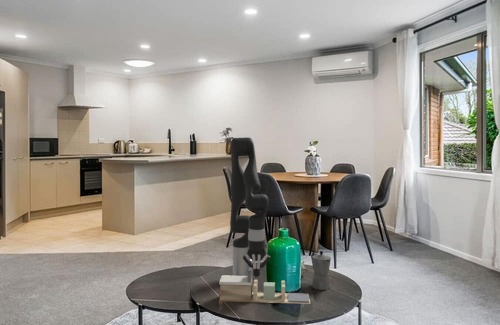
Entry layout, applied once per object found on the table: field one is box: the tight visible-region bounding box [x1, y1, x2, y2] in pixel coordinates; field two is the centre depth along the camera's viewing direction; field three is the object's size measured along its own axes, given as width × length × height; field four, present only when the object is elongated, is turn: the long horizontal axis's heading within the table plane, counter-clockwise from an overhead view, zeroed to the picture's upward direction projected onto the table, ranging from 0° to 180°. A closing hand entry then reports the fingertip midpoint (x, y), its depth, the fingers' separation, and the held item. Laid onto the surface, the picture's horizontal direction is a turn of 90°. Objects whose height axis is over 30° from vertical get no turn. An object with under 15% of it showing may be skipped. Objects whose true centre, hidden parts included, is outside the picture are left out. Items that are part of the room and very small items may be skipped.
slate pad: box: [287, 292, 310, 302], centre depth 178 cm, size 9×9×1 cm
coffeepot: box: [310, 250, 332, 291], centre depth 197 cm, size 15×9×18 cm, turn 23°
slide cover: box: [218, 267, 253, 285], centre depth 179 cm, size 9×14×5 cm, turn 86°
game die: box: [300, 261, 308, 278], centre depth 213 cm, size 9×8×10 cm
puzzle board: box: [218, 279, 311, 305], centre depth 179 cm, size 12×40×8 cm, turn 86°
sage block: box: [263, 281, 276, 300], centre depth 178 cm, size 5×5×6 cm
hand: (256, 276), depth 179 cm, fingers closed
